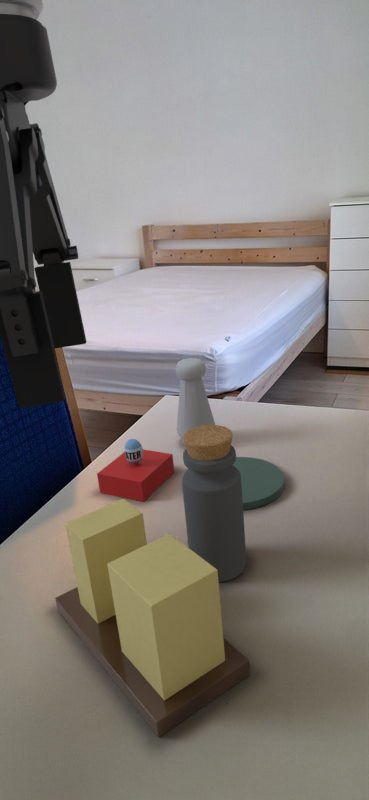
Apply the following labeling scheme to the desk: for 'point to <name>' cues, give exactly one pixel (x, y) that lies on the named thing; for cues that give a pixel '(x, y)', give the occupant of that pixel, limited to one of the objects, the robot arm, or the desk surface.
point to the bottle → (214, 500)
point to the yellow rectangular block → (102, 552)
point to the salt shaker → (192, 396)
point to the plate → (259, 481)
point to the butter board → (133, 683)
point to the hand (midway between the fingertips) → (58, 370)
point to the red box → (135, 472)
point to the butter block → (168, 613)
